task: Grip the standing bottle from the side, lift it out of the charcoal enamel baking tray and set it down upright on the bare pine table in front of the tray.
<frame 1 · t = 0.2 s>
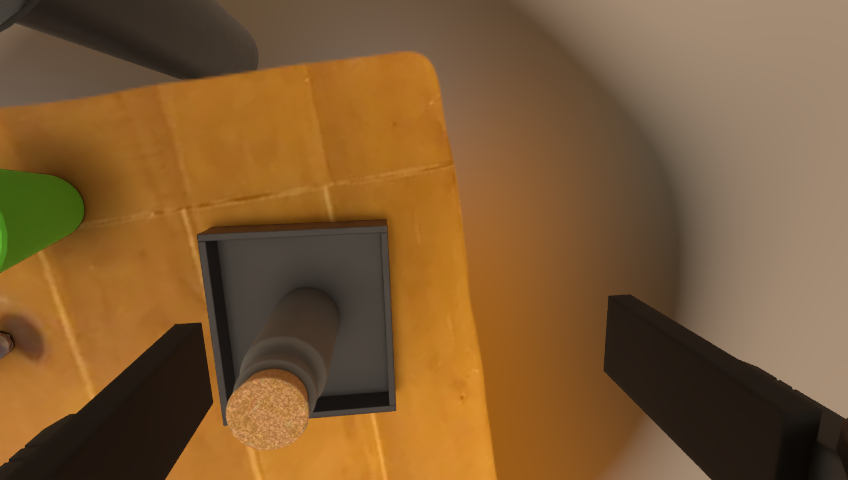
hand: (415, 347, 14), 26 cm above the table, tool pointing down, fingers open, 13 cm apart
cup: (54, 205, 37), on the table
bottle: (307, 316, 40), point 1 cm above the table, touching baking tray
baking tray: (308, 314, 41), on the table
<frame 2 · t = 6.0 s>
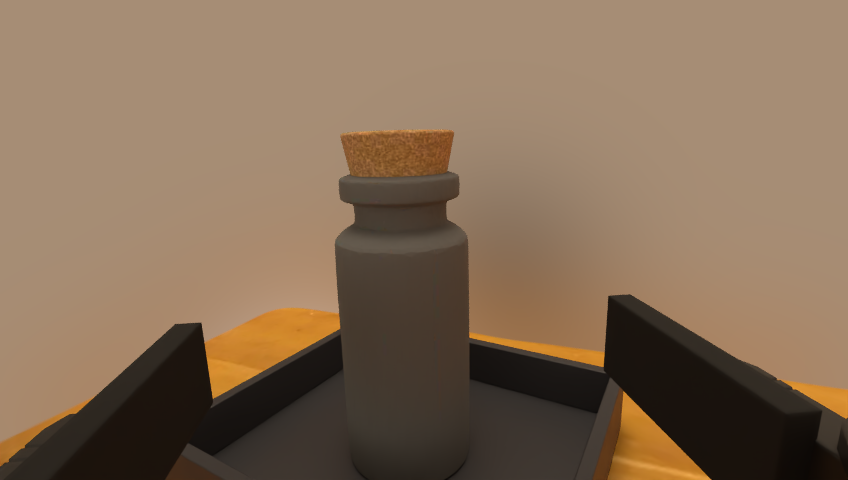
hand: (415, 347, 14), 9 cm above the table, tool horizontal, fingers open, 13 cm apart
bottle: (410, 449, 22), point 1 cm above the table, touching baking tray
baking tray: (410, 459, 22), on the table
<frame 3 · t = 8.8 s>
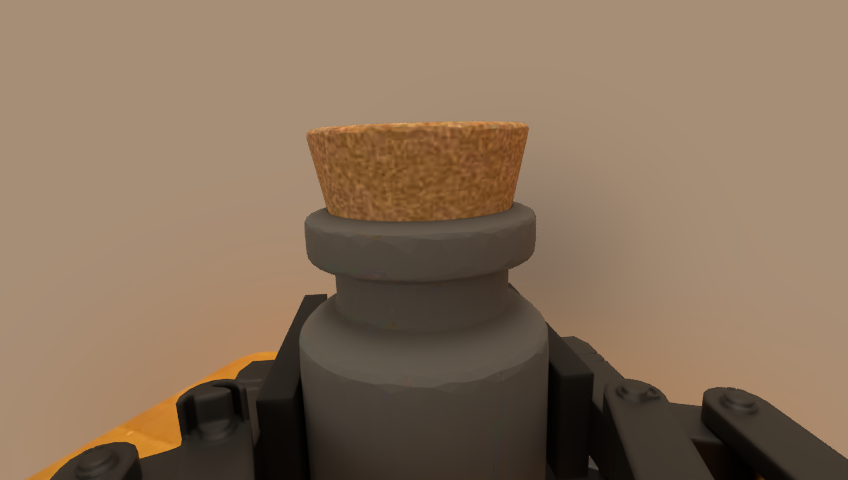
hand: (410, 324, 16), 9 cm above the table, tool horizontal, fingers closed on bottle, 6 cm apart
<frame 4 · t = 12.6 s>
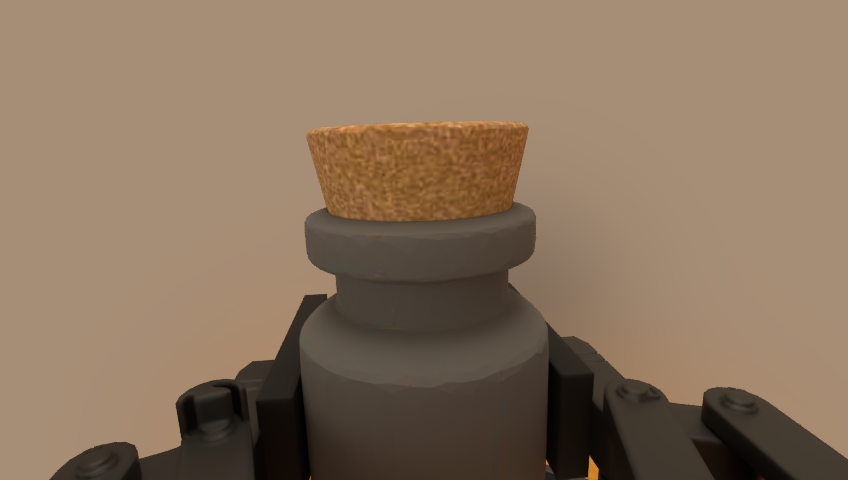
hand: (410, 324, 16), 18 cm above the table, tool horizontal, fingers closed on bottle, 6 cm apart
when the fingers open (8 cm above the table, at t = 16.7 s): bottle stays where it is, on the table.
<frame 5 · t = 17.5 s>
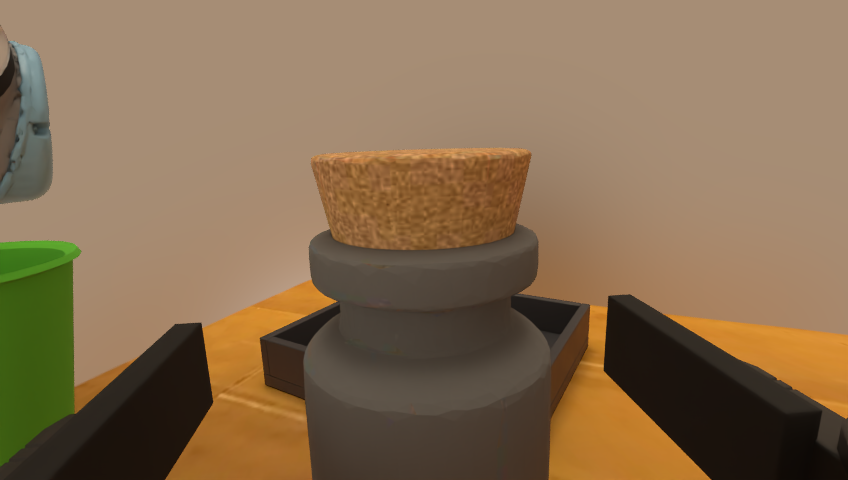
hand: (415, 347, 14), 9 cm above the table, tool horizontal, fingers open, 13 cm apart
baking tray: (436, 364, 31), on the table
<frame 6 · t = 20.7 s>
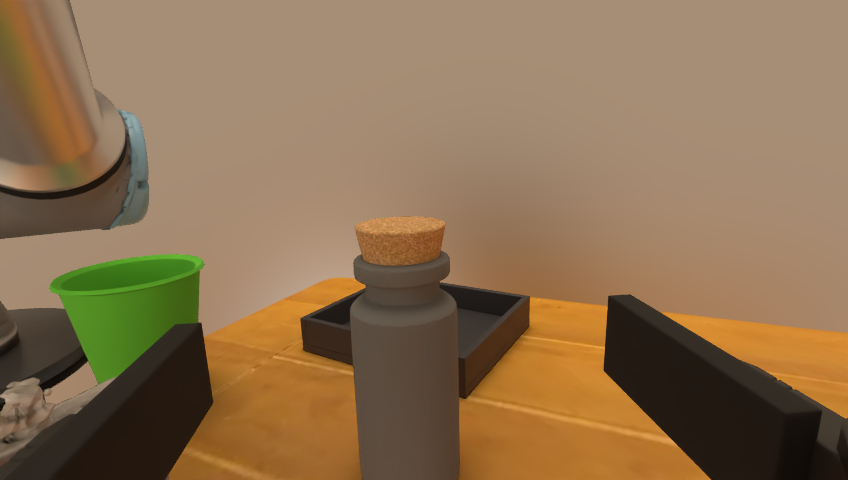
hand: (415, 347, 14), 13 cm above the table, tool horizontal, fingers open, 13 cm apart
cup: (158, 413, 33), on the table
bottle: (410, 473, 26), on the table
baking tray: (421, 337, 44), on the table
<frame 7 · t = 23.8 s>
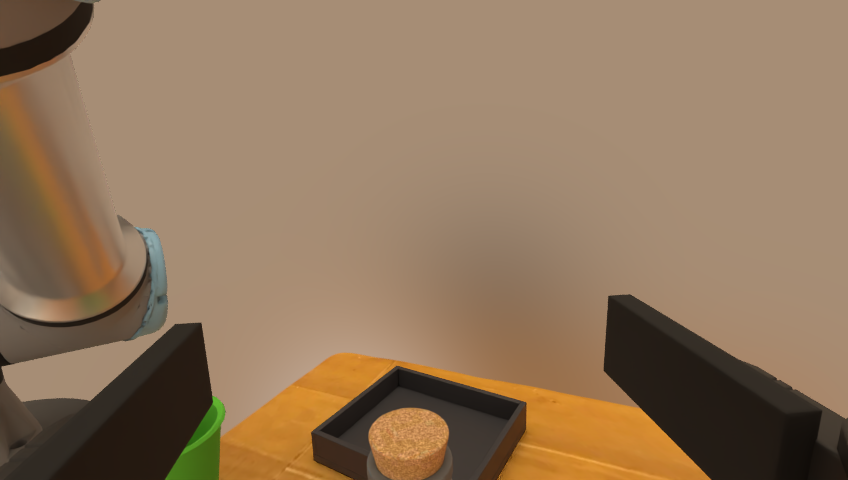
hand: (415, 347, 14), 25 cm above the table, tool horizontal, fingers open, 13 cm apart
baking tray: (424, 443, 47), on the table
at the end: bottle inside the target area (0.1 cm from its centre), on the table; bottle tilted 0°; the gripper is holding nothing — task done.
